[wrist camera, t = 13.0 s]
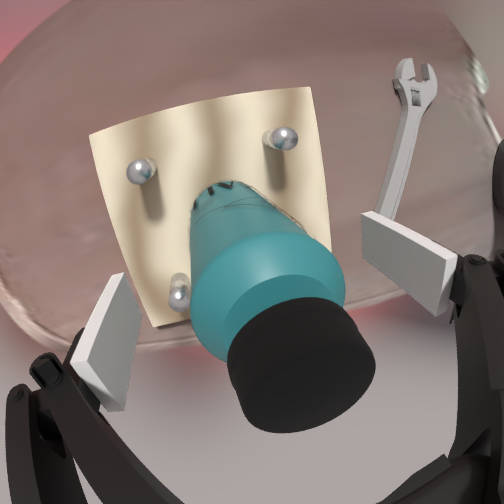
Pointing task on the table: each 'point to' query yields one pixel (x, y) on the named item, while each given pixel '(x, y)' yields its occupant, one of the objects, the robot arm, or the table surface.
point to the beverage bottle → (273, 311)
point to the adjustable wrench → (405, 132)
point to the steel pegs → (147, 168)
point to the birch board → (205, 178)
